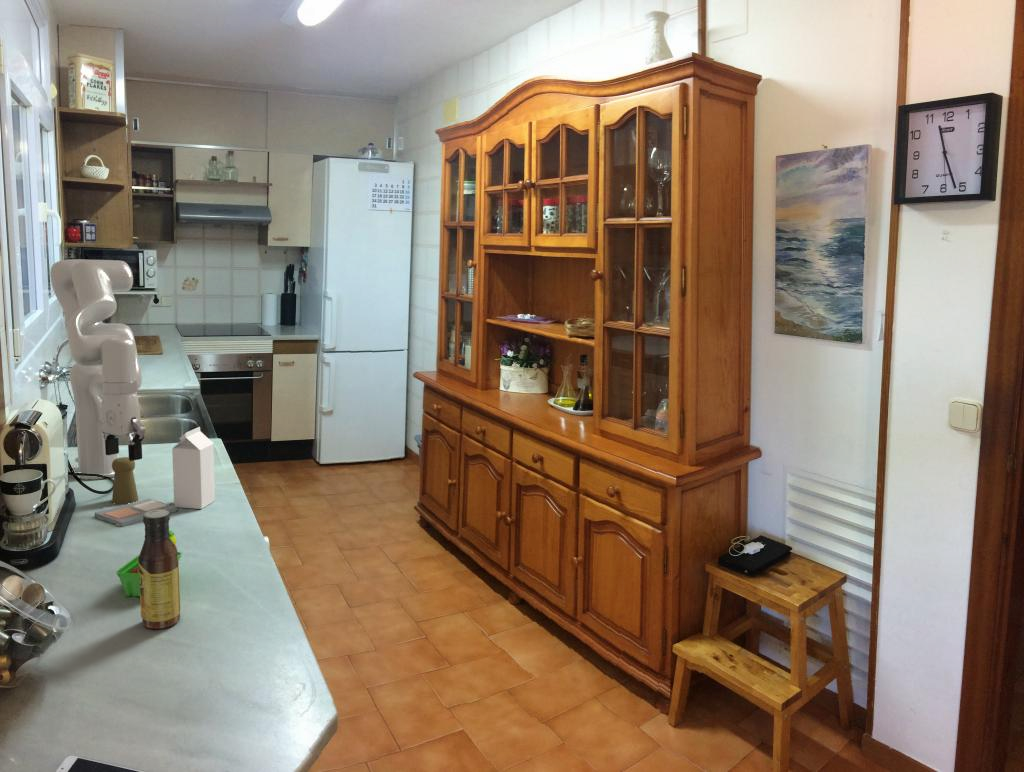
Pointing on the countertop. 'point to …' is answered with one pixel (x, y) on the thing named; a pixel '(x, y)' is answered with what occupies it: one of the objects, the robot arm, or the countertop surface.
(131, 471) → the cork
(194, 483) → the milk carton
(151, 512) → the sauce bottle
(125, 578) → the fruit basket
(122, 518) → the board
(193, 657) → the countertop surface
